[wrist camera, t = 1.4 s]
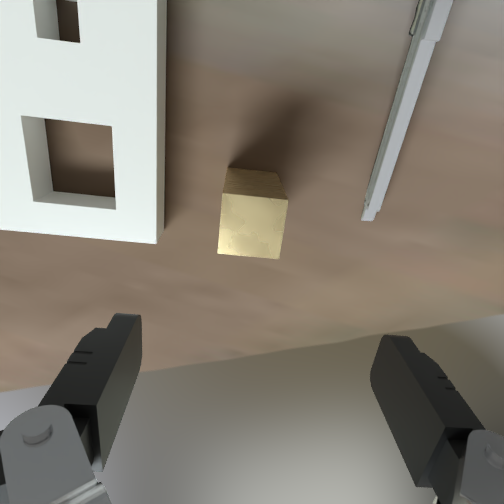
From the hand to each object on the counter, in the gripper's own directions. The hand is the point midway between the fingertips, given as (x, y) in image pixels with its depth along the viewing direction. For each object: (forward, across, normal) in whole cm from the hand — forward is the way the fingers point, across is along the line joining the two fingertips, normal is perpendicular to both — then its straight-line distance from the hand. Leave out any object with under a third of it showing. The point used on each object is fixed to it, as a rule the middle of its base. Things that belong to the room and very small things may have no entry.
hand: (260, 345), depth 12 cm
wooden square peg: (+19, 0, 0) cm, 19 cm away
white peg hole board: (+19, +13, -6) cm, 24 cm away
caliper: (+20, -10, -9) cm, 24 cm away
